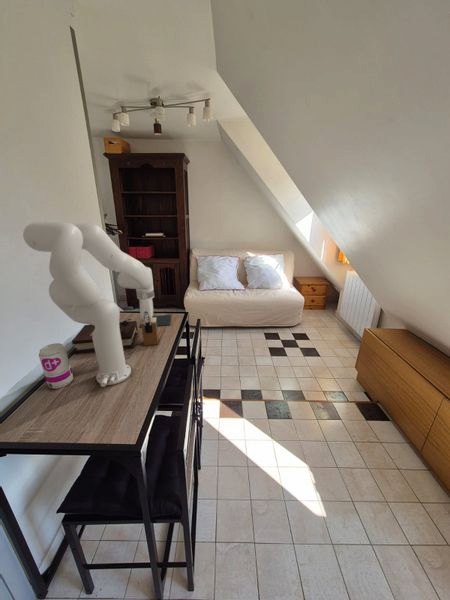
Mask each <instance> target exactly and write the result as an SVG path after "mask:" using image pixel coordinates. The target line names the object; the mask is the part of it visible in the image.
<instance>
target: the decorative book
mask: <svg viewBox="0 0 450 600" xmlns="http://www.w3.org/2000/svg"><path fill="white" fill-rule="evenodd" d="M137 322H138V321H137V320H132V318H128V319H127V320H123V321H119V327H120V334H121V340H122V345H123V350H133V349H134V346H135V343H136V340H137V337H138V334H140V333H141V332H142V329H138V328H139V327H138V323H137ZM94 330H95V326H94V325H90V324H84V325H83V326H82V327H81V329H80V331H78V332H77V334H76V335H75V336H74V337H73V339H72V340H71V343H72V345H74V346H73V348H75V349H74V350H73V352H74V355H80V354H90V353H92V354H93V353H95V348H94V344H93V339H92V337H93V333H94Z"/></svg>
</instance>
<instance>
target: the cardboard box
mask: <svg viewBox="0 0 450 600" xmlns="http://www.w3.org/2000/svg"><path fill="white" fill-rule="evenodd" d="M148 319H150V318H148ZM148 321H149V320H148ZM149 323H150V322H149ZM151 325H152V330H153V332H152V333H146V332H145V321H144V319H143V320H140V327H142V328H141V335H142V342H143V346H152V345H153V346H155V345H158V344H159V340H160V339H159V331H158V326H157V320H156V317H154V318H152V319H151Z"/></svg>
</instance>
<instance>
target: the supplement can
mask: <svg viewBox="0 0 450 600" xmlns="http://www.w3.org/2000/svg"><path fill="white" fill-rule="evenodd" d="M38 358H39V361H40V364H41V368H42V371H43V374H44V377H45V380H46V384H47V387H49V388H50V389H54V390H57V389H61V388H65V387H66V386H68V385H69V384H71V382H72V381H73V380H74V375H73V371H72V367H71V364H70V360H69V355H68V352H67V348H66V346H65V345H63V344H62V343H59V342H57V343H55V342H54V343H51V344H47V345H45V346H43V347H41V348H40V350H39V353H38Z"/></svg>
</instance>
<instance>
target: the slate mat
mask: <svg viewBox="0 0 450 600" xmlns="http://www.w3.org/2000/svg"><path fill="white" fill-rule="evenodd" d="M152 317H153V318H154V317H156V320H157V327H167V326H171V314H163V315H153V316H152ZM139 327H140V329H142V327H141V326H139Z"/></svg>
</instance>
